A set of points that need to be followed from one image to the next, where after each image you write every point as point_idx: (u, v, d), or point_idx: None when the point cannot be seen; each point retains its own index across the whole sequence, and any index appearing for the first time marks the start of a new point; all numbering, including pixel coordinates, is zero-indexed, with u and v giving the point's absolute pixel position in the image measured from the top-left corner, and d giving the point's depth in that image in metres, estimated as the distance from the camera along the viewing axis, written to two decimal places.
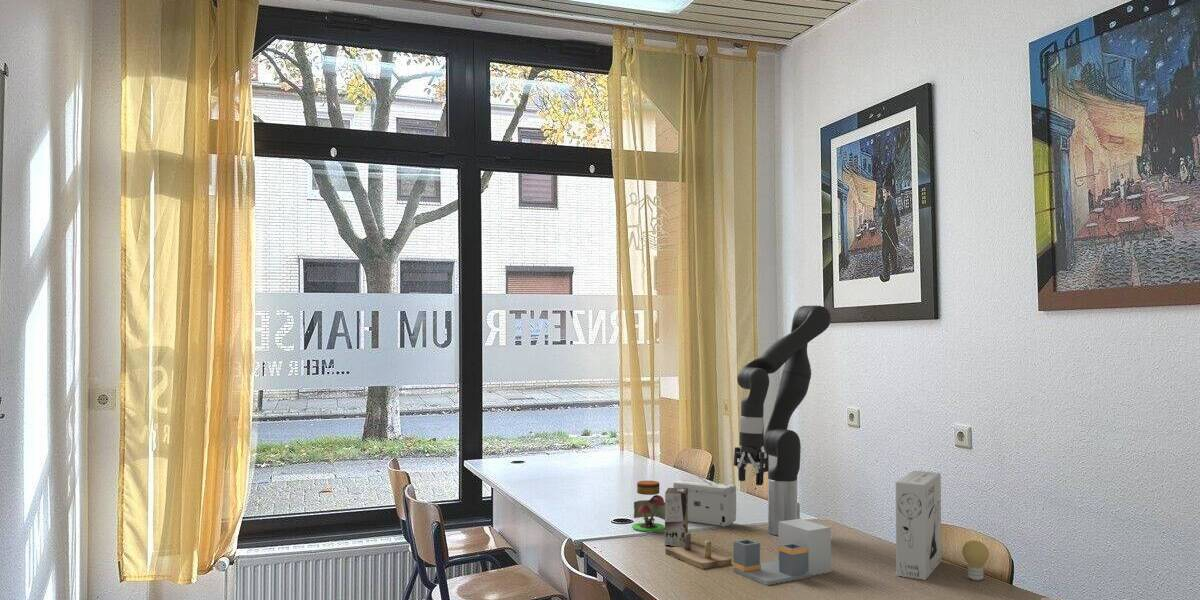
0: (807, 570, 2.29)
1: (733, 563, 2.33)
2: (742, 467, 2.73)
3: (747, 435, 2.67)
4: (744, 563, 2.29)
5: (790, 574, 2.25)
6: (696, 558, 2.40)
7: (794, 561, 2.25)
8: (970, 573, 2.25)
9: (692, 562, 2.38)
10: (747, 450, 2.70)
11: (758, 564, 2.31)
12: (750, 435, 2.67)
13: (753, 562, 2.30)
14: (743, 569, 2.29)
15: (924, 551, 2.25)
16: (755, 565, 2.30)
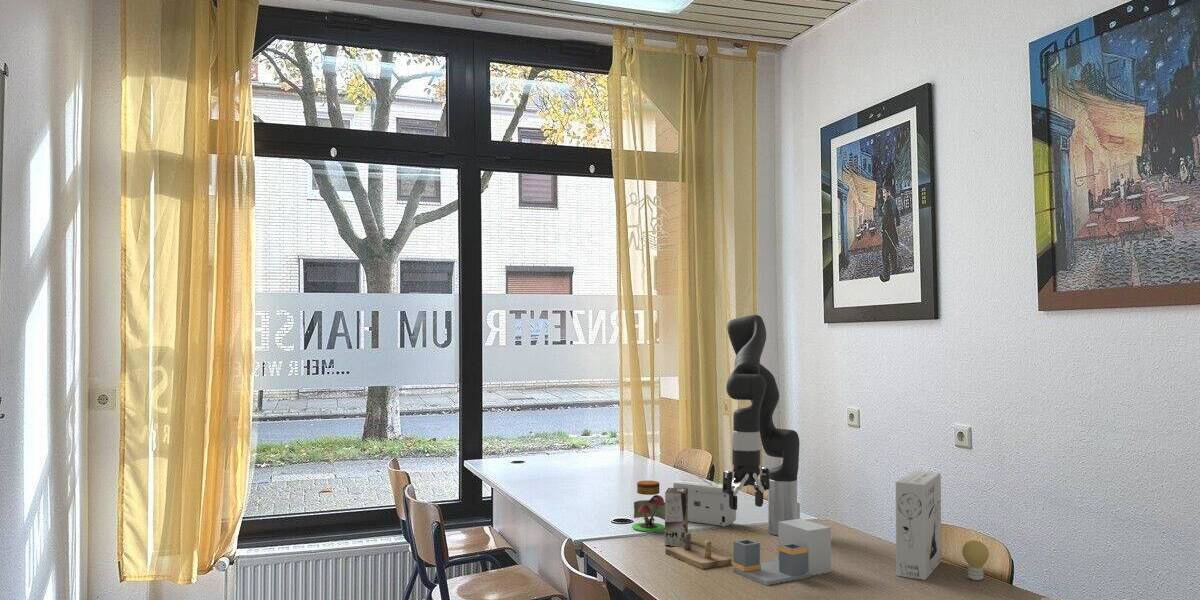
0: (807, 570, 2.29)
1: (733, 563, 2.33)
2: None
3: (759, 452, 2.31)
4: (744, 563, 2.29)
5: (790, 574, 2.25)
6: (696, 558, 2.40)
7: (794, 561, 2.25)
8: (970, 573, 2.25)
9: (692, 562, 2.38)
10: (746, 470, 2.32)
11: (758, 564, 2.31)
12: None
13: (753, 562, 2.30)
14: (743, 569, 2.29)
15: (924, 551, 2.25)
16: (755, 565, 2.30)
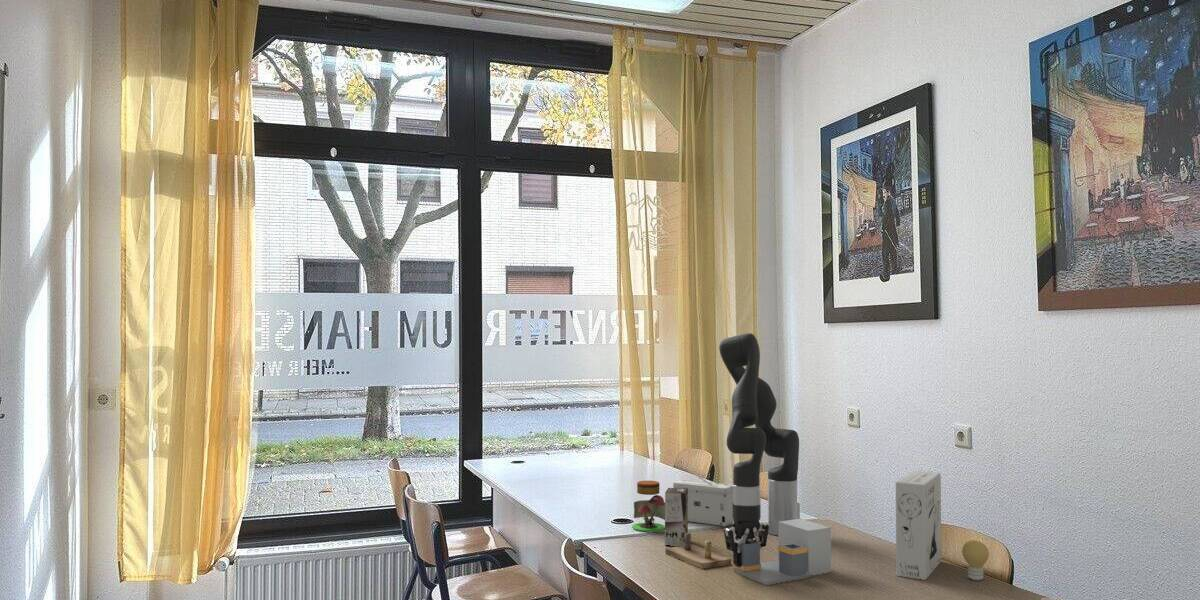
0: (807, 570, 2.29)
1: (733, 563, 2.33)
2: None
3: (759, 507, 2.31)
4: (744, 563, 2.29)
5: (790, 574, 2.25)
6: (696, 558, 2.40)
7: (794, 561, 2.25)
8: (970, 573, 2.25)
9: (692, 562, 2.38)
10: (746, 525, 2.31)
11: (758, 564, 2.31)
12: (760, 506, 2.31)
13: (753, 562, 2.30)
14: (743, 569, 2.29)
15: (924, 551, 2.25)
16: (755, 565, 2.30)
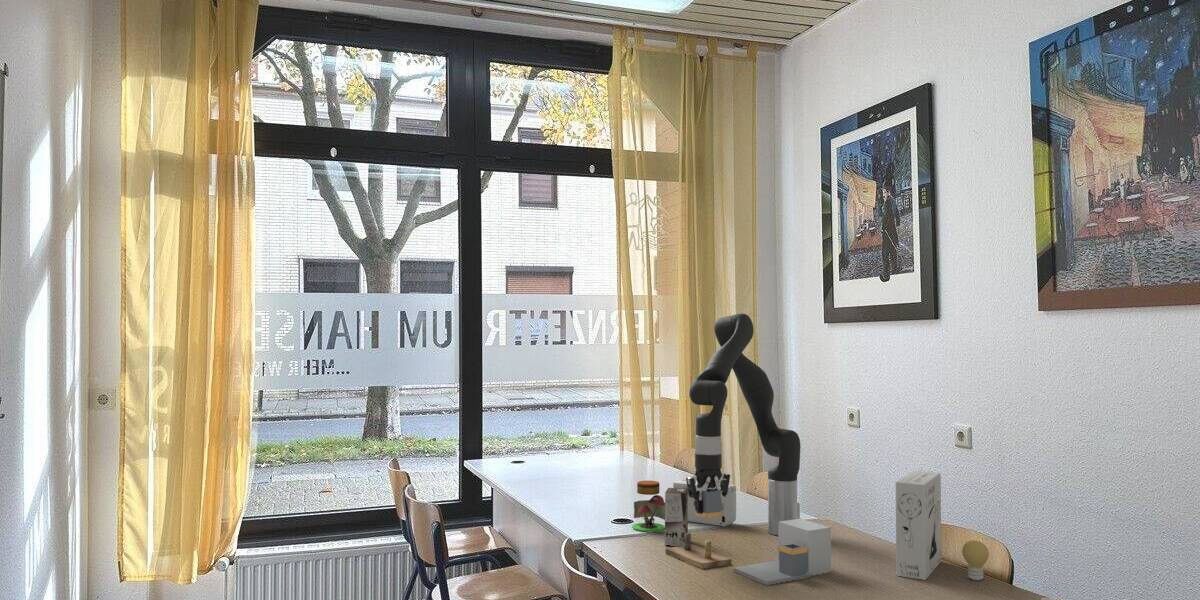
0: (807, 570, 2.29)
1: (695, 511, 2.42)
2: None
3: (720, 456, 2.40)
4: (705, 510, 2.38)
5: (790, 574, 2.25)
6: (696, 558, 2.40)
7: (794, 561, 2.25)
8: (970, 573, 2.25)
9: (692, 562, 2.38)
10: (708, 474, 2.40)
11: (719, 511, 2.40)
12: (721, 455, 2.40)
13: (714, 509, 2.39)
14: (704, 516, 2.38)
15: (924, 551, 2.25)
16: (716, 512, 2.39)
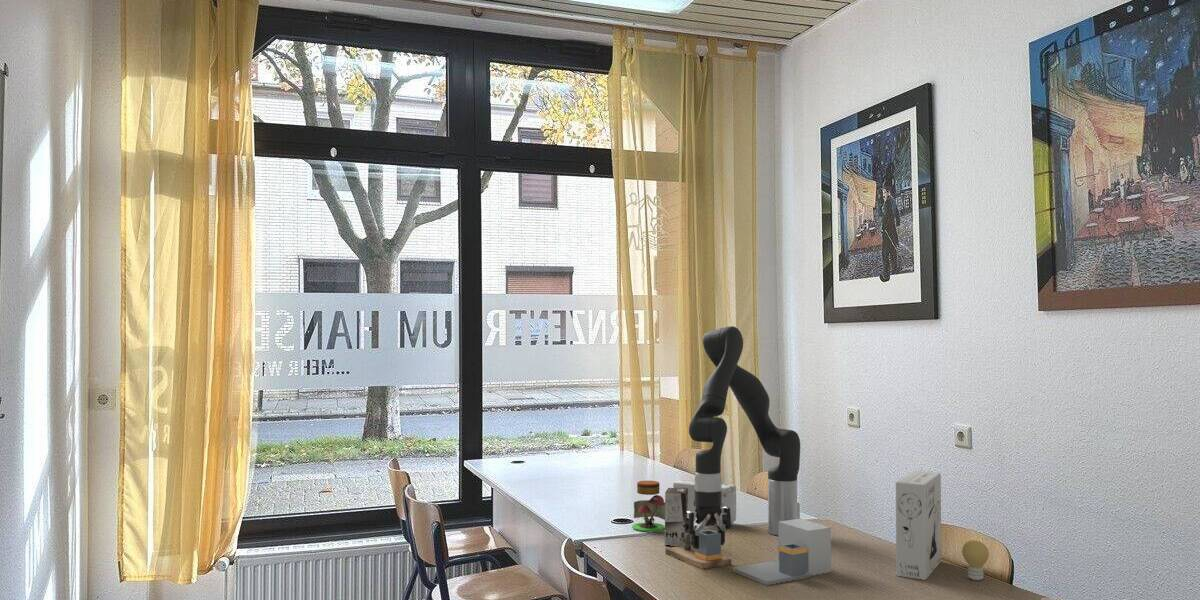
0: (807, 570, 2.29)
1: (695, 553, 2.41)
2: None
3: (720, 493, 2.39)
4: (705, 552, 2.38)
5: (790, 574, 2.25)
6: (696, 558, 2.40)
7: (794, 561, 2.25)
8: (970, 573, 2.25)
9: (692, 562, 2.38)
10: (708, 511, 2.40)
11: (719, 554, 2.39)
12: (721, 492, 2.40)
13: (714, 552, 2.39)
14: (704, 558, 2.38)
15: (924, 551, 2.25)
16: (716, 554, 2.39)
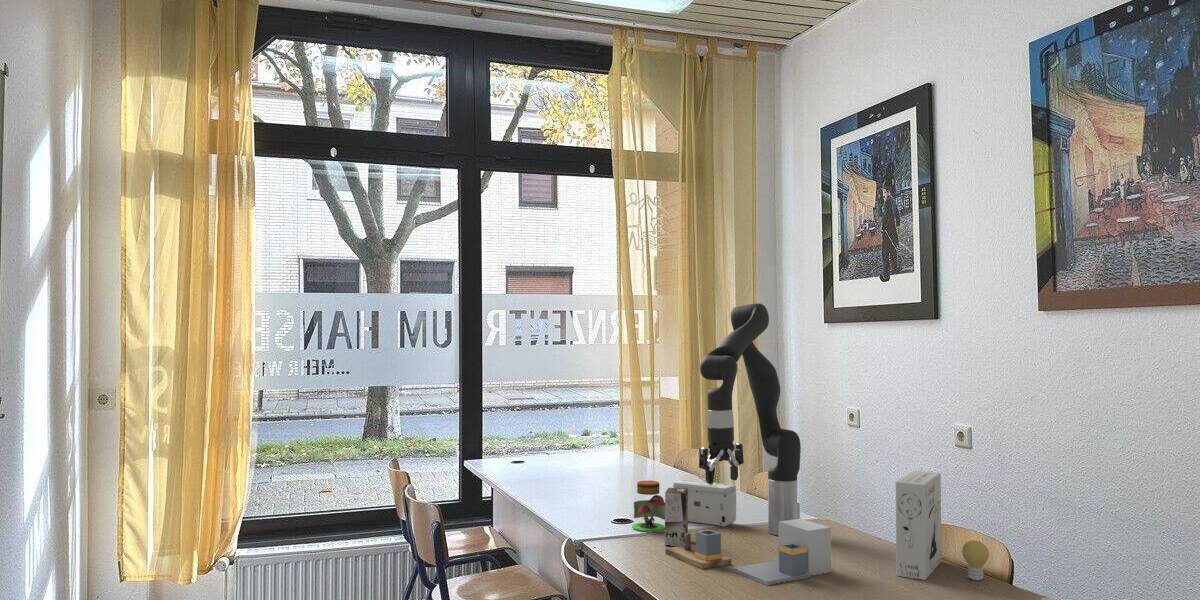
0: (807, 570, 2.29)
1: (695, 553, 2.41)
2: None
3: (732, 429, 2.44)
4: (705, 552, 2.38)
5: (790, 574, 2.25)
6: (696, 558, 2.40)
7: (794, 561, 2.25)
8: (970, 573, 2.25)
9: (692, 562, 2.38)
10: (721, 447, 2.45)
11: (719, 554, 2.39)
12: (733, 428, 2.45)
13: (714, 552, 2.39)
14: (704, 558, 2.38)
15: (924, 551, 2.25)
16: (716, 554, 2.39)
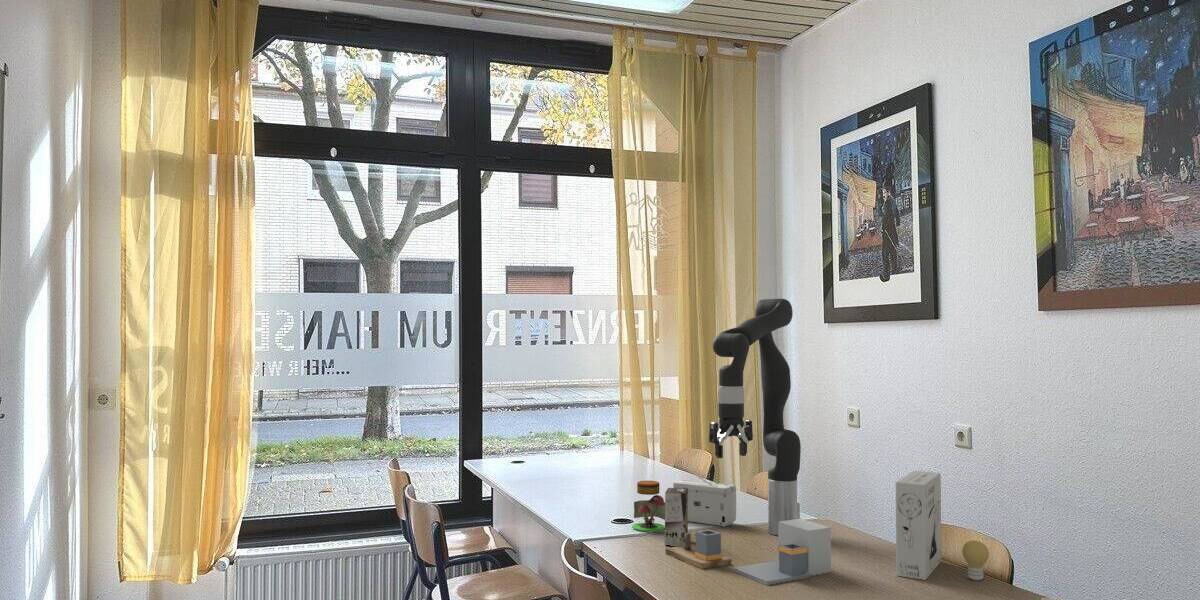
0: (807, 570, 2.29)
1: (695, 553, 2.41)
2: None
3: (743, 405, 2.50)
4: (705, 552, 2.38)
5: (790, 574, 2.25)
6: (696, 558, 2.40)
7: (794, 561, 2.25)
8: (970, 573, 2.25)
9: (692, 562, 2.38)
10: (731, 422, 2.51)
11: (719, 554, 2.39)
12: (743, 405, 2.51)
13: (714, 552, 2.39)
14: (704, 558, 2.38)
15: (924, 551, 2.25)
16: (716, 554, 2.39)
